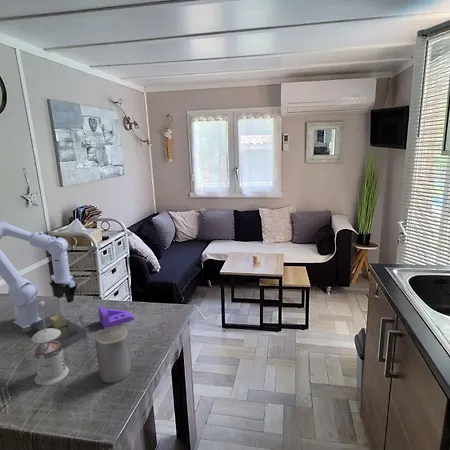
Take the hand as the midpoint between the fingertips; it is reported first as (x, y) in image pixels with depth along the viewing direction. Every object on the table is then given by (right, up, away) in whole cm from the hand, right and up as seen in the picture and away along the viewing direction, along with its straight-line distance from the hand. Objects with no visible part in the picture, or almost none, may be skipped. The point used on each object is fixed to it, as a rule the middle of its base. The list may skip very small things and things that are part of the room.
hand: (65, 299), depth 138 cm
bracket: (+21, -10, +1) cm, 23 cm away
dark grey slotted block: (+1, -12, -8) cm, 14 cm away
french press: (+10, -17, -31) cm, 37 cm away
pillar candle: (+31, -16, -31) cm, 47 cm away
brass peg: (+1, -11, -8) cm, 14 cm away
